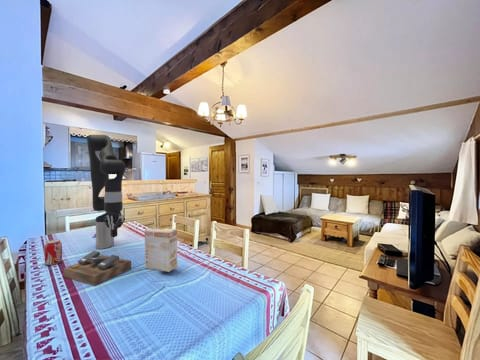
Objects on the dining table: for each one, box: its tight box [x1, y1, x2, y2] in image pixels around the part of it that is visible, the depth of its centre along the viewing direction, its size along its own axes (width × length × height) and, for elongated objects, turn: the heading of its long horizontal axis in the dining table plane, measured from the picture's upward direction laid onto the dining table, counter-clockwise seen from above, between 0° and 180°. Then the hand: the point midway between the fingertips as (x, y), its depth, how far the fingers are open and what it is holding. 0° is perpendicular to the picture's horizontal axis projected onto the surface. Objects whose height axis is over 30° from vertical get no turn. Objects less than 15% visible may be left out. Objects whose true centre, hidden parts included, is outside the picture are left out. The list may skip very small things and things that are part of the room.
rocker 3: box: [97, 254, 121, 270], centre depth 99 cm, size 8×4×2 cm, turn 157°
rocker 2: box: [87, 257, 108, 263], centre depth 101 cm, size 8×4×2 cm, turn 157°
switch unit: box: [63, 254, 132, 286], centre depth 102 cm, size 18×22×5 cm
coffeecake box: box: [144, 226, 178, 273], centre depth 107 cm, size 15×7×20 cm, turn 71°
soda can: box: [43, 239, 63, 266], centre depth 113 cm, size 7×7×12 cm
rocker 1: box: [77, 250, 102, 265], centre depth 104 cm, size 8×4×2 cm, turn 157°
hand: (114, 236), depth 101 cm, fingers closed
